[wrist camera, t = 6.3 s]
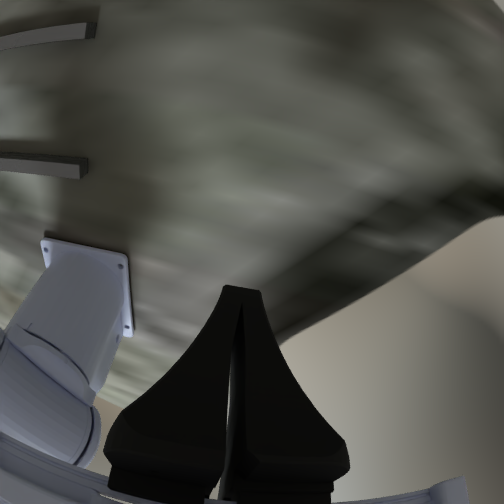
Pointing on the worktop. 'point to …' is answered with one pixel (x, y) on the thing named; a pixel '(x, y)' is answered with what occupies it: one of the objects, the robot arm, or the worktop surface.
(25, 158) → the rails
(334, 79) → the worktop surface
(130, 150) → the worktop surface
